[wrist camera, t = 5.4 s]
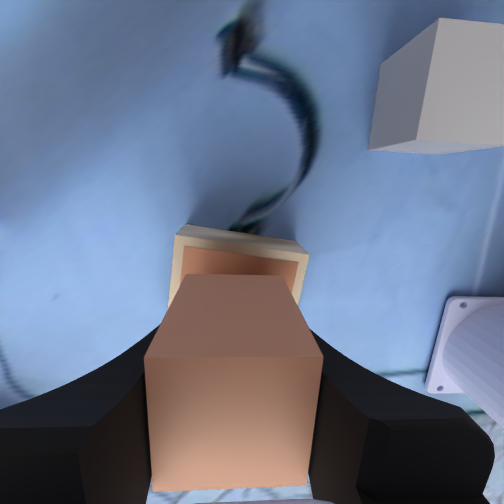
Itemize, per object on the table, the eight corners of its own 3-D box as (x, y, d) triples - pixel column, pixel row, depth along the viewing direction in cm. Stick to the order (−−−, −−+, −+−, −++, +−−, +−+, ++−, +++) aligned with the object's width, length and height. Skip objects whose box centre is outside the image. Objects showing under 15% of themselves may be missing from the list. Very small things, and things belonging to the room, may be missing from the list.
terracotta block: (282, 275, 13) (323, 356, 7) (275, 357, 14) (306, 485, 8) (186, 273, 12) (144, 357, 7) (187, 357, 13) (153, 491, 8)
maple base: (294, 239, 17) (309, 255, 14) (274, 333, 19) (283, 367, 16) (186, 223, 17) (174, 235, 13) (176, 322, 18) (163, 355, 15)
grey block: (455, 71, 15) (543, 27, 11) (437, 154, 16) (510, 145, 12) (379, 64, 15) (439, 17, 11) (366, 150, 16) (416, 139, 12)
